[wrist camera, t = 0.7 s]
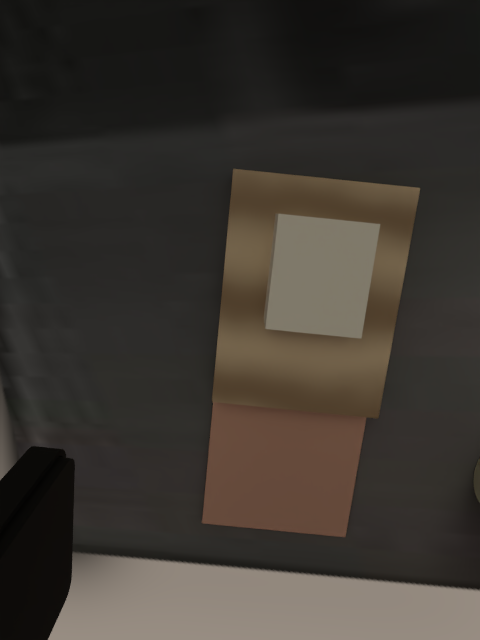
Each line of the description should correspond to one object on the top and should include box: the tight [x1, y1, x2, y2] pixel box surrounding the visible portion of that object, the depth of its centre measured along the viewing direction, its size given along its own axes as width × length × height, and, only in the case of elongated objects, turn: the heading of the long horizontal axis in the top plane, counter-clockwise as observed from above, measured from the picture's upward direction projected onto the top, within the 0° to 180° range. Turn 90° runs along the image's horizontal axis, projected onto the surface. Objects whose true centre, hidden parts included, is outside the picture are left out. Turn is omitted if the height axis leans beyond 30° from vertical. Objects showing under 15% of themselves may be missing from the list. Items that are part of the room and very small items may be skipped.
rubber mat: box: [202, 402, 366, 537], centre depth 37 cm, size 12×12×1 cm
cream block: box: [264, 214, 380, 339], centre depth 29 cm, size 7×6×3 cm
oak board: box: [212, 169, 420, 418], centre depth 32 cm, size 16×12×3 cm
